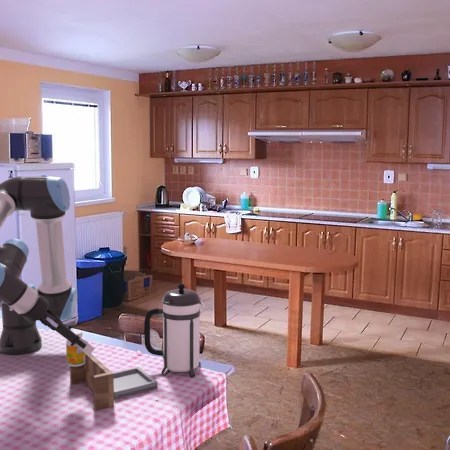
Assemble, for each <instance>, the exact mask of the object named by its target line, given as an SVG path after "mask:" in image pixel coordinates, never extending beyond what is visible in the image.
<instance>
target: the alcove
mask: <svg viewBox="0 0 450 450" xmlns="http://www.w3.org/2000/svg"><path fill="white" fill-rule="evenodd" d="M85 358H86V361H85V364H83V365H81V366H77V367H72V366H69V379H70V381H69V382H70V384H71V385H72V386H73V385H77V384H81V383H85V384H86V385H87V387H88V388H89V389H90V390H91V391H92V392H93V410H94V411H95V412H98V411H102V410H106V409H109V408H114V407H115V399H114V376H113V372H112V371H111V370H110V369H109V368H108V367H107V366H106V365H105V364H103V362H101V361H100V360H99V358H98V357H97V358H96V356H95V355H93V353H91V354H90V355H89V356H88V355H87V354H86V353H85Z"/></svg>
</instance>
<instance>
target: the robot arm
mask: <svg viewBox="0 0 450 450" xmlns="http://www.w3.org/2000/svg"><path fill="white" fill-rule="evenodd" d="M70 206H71V199H70V192H69V188H68V185H67V182H66V181H65V180H64V178H62V177H59V176H58V177H57V176H51V175H50V176H49V175H48V176H15V177H11V178H8V179H6V180H4V181H2V182H0V230H1V229H2V226H3V225H4V223H5V221H6V220H7V218H8V217H10V216H12V215H13V214H14V213H15V212H18V211H29V212H30V218H31V219H32V220H33V221H35V227H36V235H37V237H36V238H37V244H38V245H37V247H38V255H39V265H40V275H41V283H39V284H38V286H37V288H36V286H35V284H33V283H26V282H25V281H23V280H22V279H21V278H20V277H21V275H22V273H23V270H24V267H25V265H26V263H27V261H28V256H29V251H30V250H29V246H28V245H27V244H26V242H24V241H23V240H21V239H19V238H18V239H17V238H10V239H8V240H5V241H4V243H3V244H2V245H1V246H0V304H1V321H2V323H1V324H2V331H1V333H0V353H2V354H6V355H23V354H29V353H32V352H34V351H37V350H39V349H40V348H42V345H43V343H42V341H43V340H42V337H41V334H40V332H39V329H38V327H37V321H39V322H40V324H42V325H44V326H45V327H48V328H49V329H51V330H52V331H56V333H58V334H59V335H60V336H61V337H63V338H65V339H66V341H67V340H68V341H70V342H71V346H73V345H75V346H76V347H78V348H79V349H80V350H82V351H83V352H84V353H86V354H87V355H88V356H89V355H90V354H93V352H94V351H95V350H96V348H95V347H94V346H93V345H92V344H90V343H89V341H87V340H86V339H85V338H84V339H85V340H84V339H82V338H81V337H80V336H78V335H76V334H75V333H73V332H72V330H73V326H71V325H69V326H68V325H67V324H65V323H64V322H62V321H70V320H71V319H72V318H74V316H75V315H74V314H75V311H76V308H77V302H78V301H77V300H78V291H77V290H78V289H77V288H74V287H72V282H71V281H70V280H68V279H67V270H66V258H65V247H64V244H65V243H64V234H63V233H64V231H63V221H62V219H63V218H64V217H65V216H66V211H67V212H68V210H69V209H70Z"/></svg>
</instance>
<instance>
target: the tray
mask: <svg viewBox="0 0 450 450" xmlns="http://www.w3.org/2000/svg"><path fill="white" fill-rule="evenodd" d="M112 373H113V376H114V400H117V399H121V398H126V397H129V396H133V395H137V394H141V393H145V392H148V391H153V390H156V389H158V381H157V380H156V379H155V378H154V377H152V376H151V375H149V374H148V373H147V372H146V371H144V370H143V369H142V368H140V366H135V367H131V368H126V369H123V370H119V371H114V372H112ZM125 396H126V397H125Z"/></svg>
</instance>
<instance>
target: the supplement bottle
mask: <svg viewBox="0 0 450 450" xmlns="http://www.w3.org/2000/svg"><path fill="white" fill-rule="evenodd" d="M71 330H72V332H73V333H75V334H76V335H78V336H80V337H81V338H82V339H84V340H86V339H85V338H84V337H83V331H82V330H80V329H71ZM65 345H66V347H65V348H66V349H65V350H66V365H67V366H69V367H70V366H72V367H77V366H81V365H83V364H85V361H86V358H85V353H84V352H83V351H82V350H80V349H79V348H78V347H76V346H75V345H73V346H71V342H70V341H68V340H67V339H66V341H65Z"/></svg>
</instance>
